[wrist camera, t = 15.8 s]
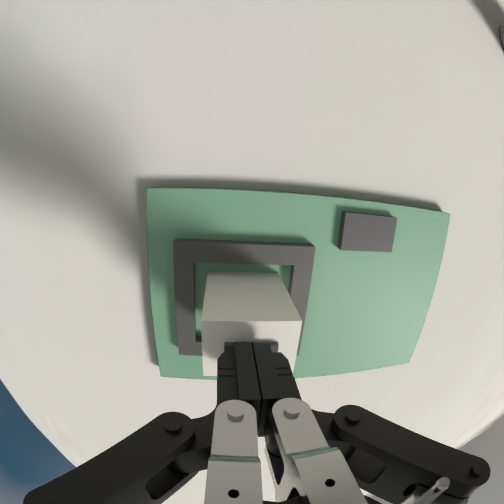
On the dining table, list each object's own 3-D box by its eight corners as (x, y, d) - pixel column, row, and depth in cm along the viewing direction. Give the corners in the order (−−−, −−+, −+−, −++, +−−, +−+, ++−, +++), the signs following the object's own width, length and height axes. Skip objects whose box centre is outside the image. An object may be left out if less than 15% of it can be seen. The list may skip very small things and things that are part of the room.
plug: (278, 272, 18) (303, 324, 12) (272, 326, 19) (291, 389, 13) (208, 271, 17) (200, 324, 11) (208, 326, 18) (203, 391, 12)
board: (442, 211, 19) (456, 215, 17) (404, 356, 23) (413, 367, 21) (151, 187, 16) (143, 189, 15) (162, 368, 20) (159, 383, 19)
